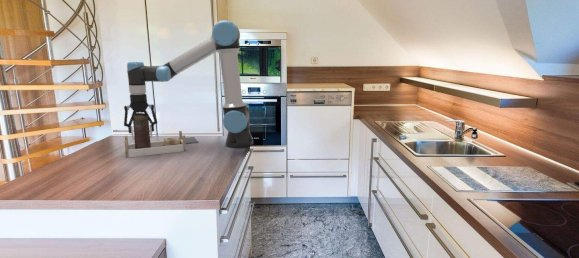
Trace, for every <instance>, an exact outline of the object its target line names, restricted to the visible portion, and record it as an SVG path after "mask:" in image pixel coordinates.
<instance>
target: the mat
mask: <svg viewBox="0 0 579 258" xmlns="http://www.w3.org/2000/svg"><path fill="white" fill-rule="evenodd" d="M176 138H177V137H176ZM177 139H180V137H179V138H177ZM182 140H183V139H182ZM185 143H186V145H189V144H199V141H198V140H197V138H195V136H191V137H189V136H188V137H185Z"/></svg>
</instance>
